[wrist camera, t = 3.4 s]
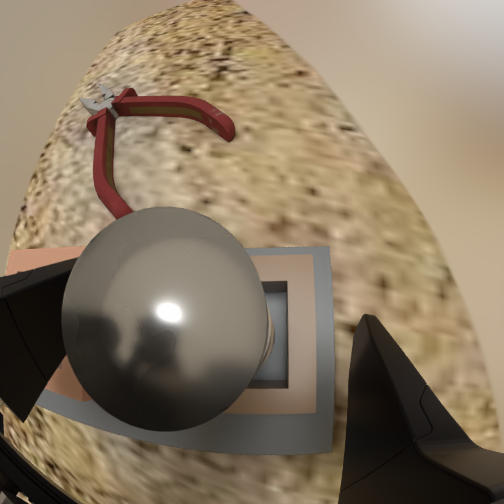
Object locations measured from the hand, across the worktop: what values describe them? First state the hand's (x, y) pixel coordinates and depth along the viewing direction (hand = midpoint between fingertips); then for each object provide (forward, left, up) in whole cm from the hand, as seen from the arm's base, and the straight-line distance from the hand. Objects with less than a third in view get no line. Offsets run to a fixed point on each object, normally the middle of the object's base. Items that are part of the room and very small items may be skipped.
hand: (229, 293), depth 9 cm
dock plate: (-2, +6, -7) cm, 10 cm away
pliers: (+17, +10, -8) cm, 21 cm away
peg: (-1, 0, -6) cm, 6 cm away
